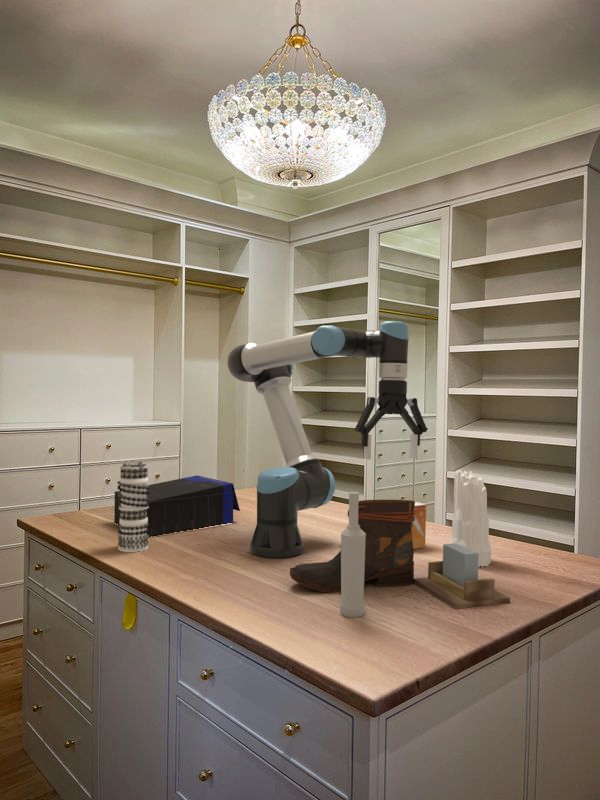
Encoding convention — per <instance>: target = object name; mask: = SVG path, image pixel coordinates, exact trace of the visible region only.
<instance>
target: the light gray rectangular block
mask: <svg viewBox="0 0 600 800" xmlns="http://www.w3.org/2000/svg"><path fill="white" fill-rule="evenodd" d="M442 550H443V551H442V561H443V576H444V577H446V578H448V579H450V580H452V581H454V582H455V583H457V584H459V585H461V586H463V587H464V581H471V580H479V567H478V553H477V552H474V551H472V550H470V549H468V548H465V547H463V546H461V545H459V544H456V543H455V544H450V543H447V544H446V543H445V544H444V543H443V546H442Z"/></svg>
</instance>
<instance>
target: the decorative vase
mask: <svg viewBox="0 0 600 800" xmlns="http://www.w3.org/2000/svg"><path fill="white" fill-rule="evenodd" d="M454 473H455V474H454V480H453V518H452V523H451V527H452V528H451V531H452V532H451V540H450V543H449V544H455V543H456V544H459V545H461V546H463V547H465V548H468V549H470V550H472V551H474V552H477V553H478V568H484V567H483V566H486V567H488V566H490V565H491V562H492V548H491V547H492V546H491V543H490V541H489V533H490V530H489V529H490V521H489V516H488V506H487V505H488V492H487V491H488V490H487V488H486V486H485V484H484V480H483V478H482V477H477V476H475V475H474V473H473V472H472V471H471V470H470V471H469V473H468V471H465V470H464V471H462V470H461V469H457V470H456V471H455V472H454ZM489 564H490V565H489ZM480 566H481V567H480Z"/></svg>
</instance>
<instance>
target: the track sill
mask: <svg viewBox="0 0 600 800" xmlns="http://www.w3.org/2000/svg"><path fill="white" fill-rule="evenodd" d="M427 563H428V565H427V566H428V567H427V571H428V572H427V573H428V575H427V576H425V577H416V578H415V577H414V581H413V584H415V585H416V586H418V587H420V588H421V589H423V590H424V589H425V590H424V591H426V592H427V591H428V593H429V592H430V593H429V594H431V595H432V594H433V595H432V596H434V597H435V596H436V598H437V597H438V598H439V599H438V598H437V599H438V600H440V599H441V600H440V601H442V602H443V601H444V602H443V603H445V604H446V603H447V605H448V606H450V607H451V608H452V609H455V610H457V609H465V608H467V609H468V608H474V606H476V607H482V606H483V605H484V606H491V605H490V604H493V605H501V604H510V603H511V597H509V596H508V595H506V594H504V593H502V592H499V590H495V583H496V582H495V579H494V578H484V579H478V580H471V581H464V587H463V586H461V585H459V584H457V583H455V582H454V581H452V580H450V579H448V578H446V577H444V576H443V560H438V561H428V562H427ZM484 606H483V607H484Z"/></svg>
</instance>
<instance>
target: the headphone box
mask: <svg viewBox="0 0 600 800" xmlns="http://www.w3.org/2000/svg"><path fill="white" fill-rule="evenodd" d="M147 486H150V489H147V491H149V492H150V494H147V497H148V498H149V499H150V500H149V501H148V502H147V503H148V504H149V508H147V517H148V523H149V526H148V527H147V528H148V529H149V532H147V534H148V535H149V537H151V536H157V537H159V536H158V535H163V534H169V533H174V532H180V531H187V530H193V529H199V528H204V527H209V526H215V525H221V524H227V523H233V524H234V511H238V512H240V511H241V509H240V505H239V503H238V497H237V493H236V491H235V487H234V483H232V482H228V481H224V480H219V479H215V478H210V477H206V476H201V475H197V474H196V475H191V476H188V477H181V478H177V479H172V480H167V481H162V482H158V483H151V484H147ZM119 492H120V491H119V490H117V491H114V514H113V515H114V521H113V522H114V523H116V524H118V525H119V524H120V509H119V505H120V504H121V503H119V502H118V498H119V496H118V493H119ZM118 525H117V526H118ZM163 536H164V535H163ZM151 538H152V537H151Z"/></svg>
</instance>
